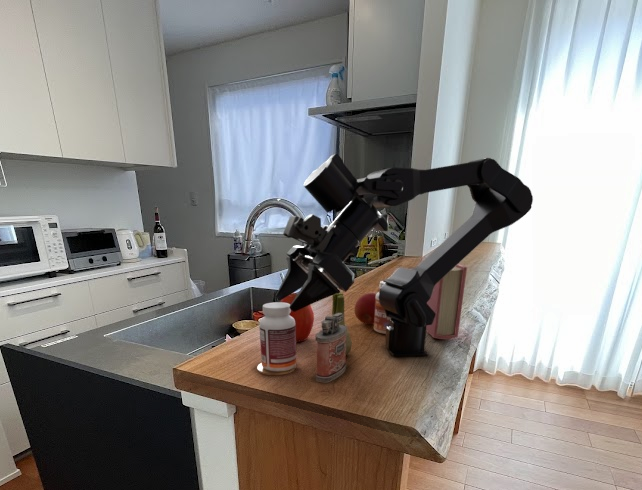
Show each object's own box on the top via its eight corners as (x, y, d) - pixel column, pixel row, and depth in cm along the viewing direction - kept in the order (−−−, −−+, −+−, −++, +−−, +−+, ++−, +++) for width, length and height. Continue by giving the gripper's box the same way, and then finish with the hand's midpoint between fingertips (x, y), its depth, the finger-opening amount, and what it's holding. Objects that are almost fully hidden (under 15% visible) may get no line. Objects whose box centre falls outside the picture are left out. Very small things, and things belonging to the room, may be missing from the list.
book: (432, 341, 79) (457, 341, 79) (441, 267, 74) (467, 267, 74) (415, 323, 93) (436, 323, 93) (421, 259, 88) (443, 259, 88)
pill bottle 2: (369, 332, 86) (371, 283, 82) (379, 325, 91) (382, 279, 87) (395, 336, 83) (399, 285, 79) (405, 329, 87) (409, 281, 84)
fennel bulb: (330, 348, 77) (330, 289, 73) (354, 350, 75) (356, 290, 71) (321, 358, 72) (322, 294, 68) (347, 360, 70) (349, 296, 66)
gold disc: (295, 360, 71) (295, 359, 70) (296, 374, 64) (295, 373, 64) (258, 361, 71) (258, 360, 70) (255, 376, 64) (255, 374, 64)
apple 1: (305, 332, 88) (305, 285, 84) (320, 342, 80) (320, 291, 77) (271, 336, 85) (269, 288, 82) (283, 347, 78) (282, 295, 74)
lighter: (329, 384, 60) (330, 323, 57) (311, 379, 62) (310, 320, 59) (350, 367, 67) (352, 312, 63) (333, 364, 69) (334, 309, 65)
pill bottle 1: (303, 363, 68) (302, 303, 65) (284, 375, 63) (282, 310, 60) (274, 357, 71) (271, 299, 68) (254, 368, 66) (250, 306, 63)
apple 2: (387, 299, 86) (378, 281, 92) (353, 313, 88) (347, 294, 94) (395, 323, 91) (386, 304, 97) (363, 335, 93) (356, 316, 99)
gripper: (296, 199, 68) (239, 265, 69) (335, 193, 51) (259, 280, 52) (336, 242, 73) (282, 304, 74) (384, 250, 56) (314, 329, 57)
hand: (283, 303), depth 64 cm, fingers open, 9 cm apart
